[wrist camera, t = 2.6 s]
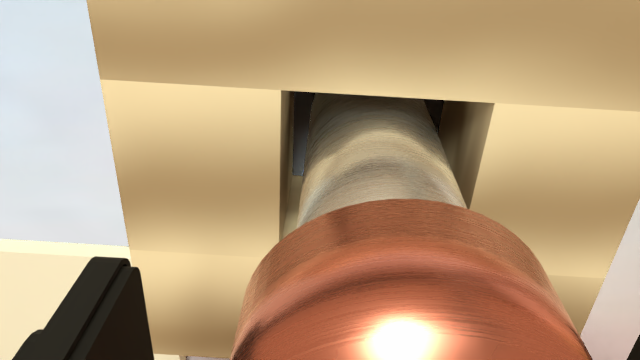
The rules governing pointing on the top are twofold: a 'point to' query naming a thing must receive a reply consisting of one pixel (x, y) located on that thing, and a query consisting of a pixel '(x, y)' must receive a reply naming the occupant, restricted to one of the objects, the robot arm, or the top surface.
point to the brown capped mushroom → (395, 256)
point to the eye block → (374, 80)
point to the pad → (42, 285)
